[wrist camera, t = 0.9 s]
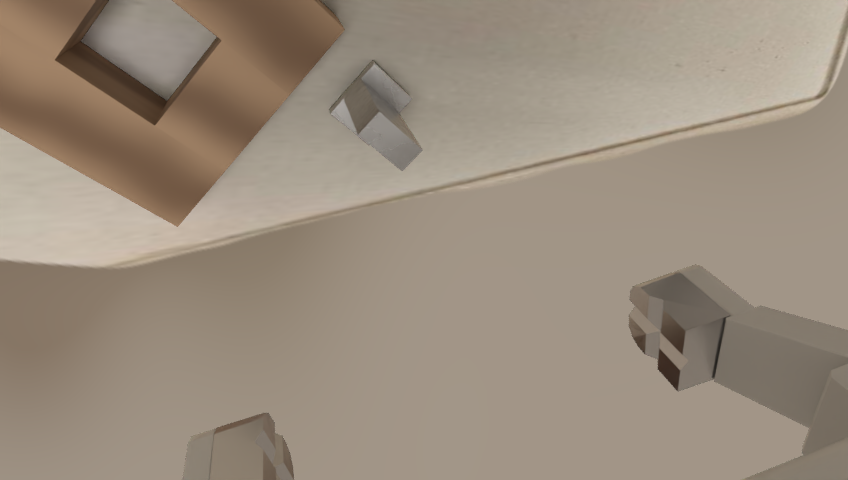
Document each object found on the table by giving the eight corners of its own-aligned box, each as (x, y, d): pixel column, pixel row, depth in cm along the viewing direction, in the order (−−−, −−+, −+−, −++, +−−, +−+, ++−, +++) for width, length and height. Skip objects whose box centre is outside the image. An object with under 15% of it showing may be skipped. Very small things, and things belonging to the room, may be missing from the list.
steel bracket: (372, 60, 39) (395, 93, 32) (409, 95, 41) (438, 133, 34) (329, 109, 40) (342, 152, 33) (367, 140, 42) (387, 187, 35)
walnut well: (109, -202, 28) (83, -220, 24) (336, 15, 37) (344, 29, 33) (-51, 52, 32) (-97, 73, 28) (186, 194, 41) (177, 226, 37)
